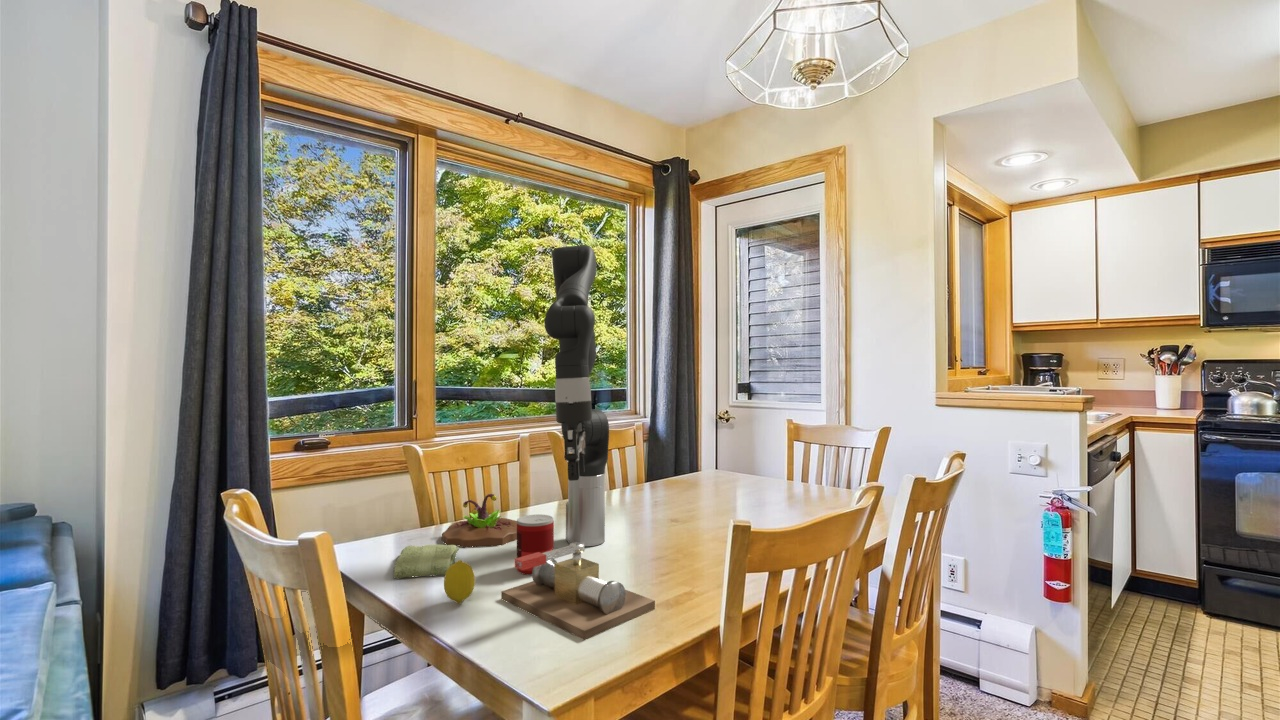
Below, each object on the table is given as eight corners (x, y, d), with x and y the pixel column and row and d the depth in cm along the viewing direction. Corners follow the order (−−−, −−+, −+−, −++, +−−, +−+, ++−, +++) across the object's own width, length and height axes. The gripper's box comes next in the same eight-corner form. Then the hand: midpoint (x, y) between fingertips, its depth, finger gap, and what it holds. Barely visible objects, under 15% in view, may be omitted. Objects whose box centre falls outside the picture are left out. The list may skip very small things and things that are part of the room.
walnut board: (501, 599, 112) (501, 591, 112) (570, 576, 125) (570, 569, 125) (584, 640, 96) (584, 630, 96) (654, 608, 108) (654, 600, 108)
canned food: (560, 568, 129) (560, 518, 129) (530, 578, 123) (531, 525, 123) (539, 560, 134) (539, 512, 135) (509, 569, 129) (509, 518, 129)
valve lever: (577, 548, 112) (577, 540, 112) (587, 551, 110) (587, 543, 110) (513, 567, 102) (513, 558, 102) (523, 570, 100) (523, 562, 100)
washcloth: (460, 552, 142) (460, 538, 142) (454, 578, 125) (454, 562, 125) (402, 556, 139) (402, 542, 139) (387, 582, 122) (388, 567, 122)
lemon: (457, 612, 106) (458, 567, 106) (437, 605, 109) (437, 562, 109) (481, 601, 111) (481, 559, 111) (460, 595, 114) (461, 554, 114)
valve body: (531, 588, 115) (532, 544, 115) (554, 581, 119) (554, 538, 119) (602, 620, 101) (602, 569, 101) (625, 610, 105) (625, 561, 105)
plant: (513, 549, 144) (513, 503, 144) (433, 548, 144) (433, 503, 144) (529, 526, 164) (529, 486, 164) (459, 526, 164) (459, 486, 164)
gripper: (561, 399, 132) (564, 472, 132) (549, 401, 118) (553, 483, 117) (594, 397, 132) (597, 470, 131) (587, 400, 118) (590, 481, 117)
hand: (576, 476), depth 124 cm, fingers open, 8 cm apart
